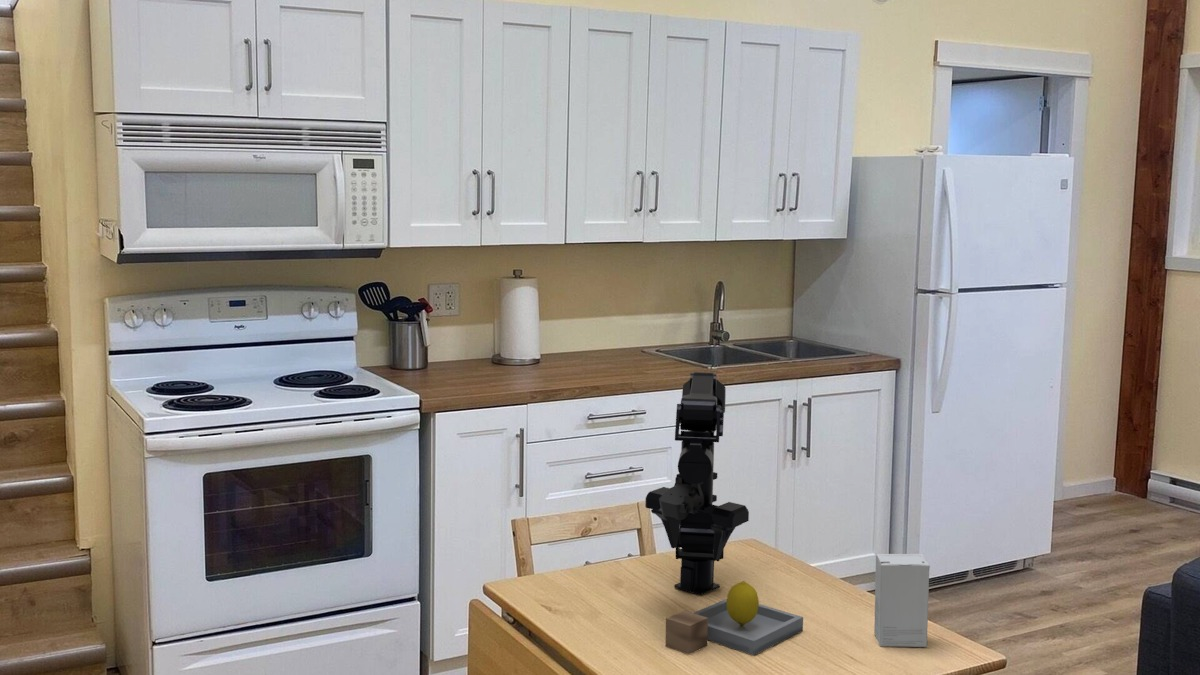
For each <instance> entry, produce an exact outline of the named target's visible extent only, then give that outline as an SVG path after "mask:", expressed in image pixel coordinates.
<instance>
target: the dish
mask: <svg viewBox="0 0 1200 675" xmlns="http://www.w3.org/2000/svg"><path fill="white" fill-rule="evenodd" d="M693 613H694V614H697V615H700V616H704V617H707V618H708V634H707V641H709V642H712V643H715V644H718V645H721V646H724V647H727V648H730V649H733V650H736V651H739V652H740V653H741V652H742V653H744V654H747V655H751V656H755V654H756V655H758V654H760V653H761V652H763V651H765V650H768V649H769V648H772V647H774V646H776V645H777V644H779V643H781V642H783V641H785V640H788V639H789V638H791V637H793V636H795V635H797V634H799V633H801V632H803V631H804V630H803V629H804V617H803V616H800V615H798V614H796V613H795V614H794V613H791V612H788V611H784V610H781V609H778V608H774V607H772V606H768V605H764V604H762V603H759V607H758V612H757V614H756V616H755V618H754V619H753V620H752V621H750V622H748V623H746V624H745V625H744V626H741V625H739V623H738V622H736V621H734V620H733V619H732V618H731V617H730V616H729V614H728V611H727V598H725V599H722V600H720V601H718V602H715V603H714V604H711V605H708V606H706V607H703V608H702V609H699V610H696V611H694V612H693Z"/></svg>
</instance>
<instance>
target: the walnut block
mask: <svg viewBox="0 0 1200 675" xmlns="http://www.w3.org/2000/svg"><path fill="white" fill-rule="evenodd" d="M707 634H708V618H707V617H704V616H700V615H697V614H694V612H692V611H691V612H690V611H689V610H688V611H687V610H682V611H679V612H677V613H675V614H673V615H669V616H667V617H666V618H665V647H666V648H670V649H672V650H675V651H678V652H682V653H684V654H687V655H691V654H693V653H695V652H697V651H700V650H702V649H704V648H706V647H707V646H708V640H707ZM699 649H700V650H699Z"/></svg>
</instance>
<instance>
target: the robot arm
mask: <svg viewBox="0 0 1200 675" xmlns="http://www.w3.org/2000/svg"><path fill="white" fill-rule="evenodd" d="M726 395H727V394H726V385H724V384H723V383H721V382H720V381H719V380H718V378H717V373H714V372H706V371H705V372H704V371H701V372H700V371H699V372H698V371H694V372H693V373H692V372H691V373H690V375H689V380H687V381H686V382H684V383H683V384H682V392H681V399H680V403H677V404H676V412H675V414H676V416H675V431H674V441H677V442H678V441H681V445H680V446H681V449H680V450H681V451H680V454H679V458H678V462H677V472H678V473H677V474H676V475H675V476H676V477H675V483H674V485H673V486H672V487H665V486H662V487H659V488H657V489H654V490H651V491H648V492H647V494H646V496H645V500H644V501H645V503H644V504H645V505H644V506H645V508H646V509H650V512H651V513H652V514H654V515H656V516H657V517H658V518H659V519H660V520H661V523H662V525H663V527H664V530H665V533H666V536H667V539H668V542H669V544H670V547H671V548H672V549H675V560H679V559H680V561H681V563H680V564H681V565H680V577H679V581H680V582H678V583H676V584H674V588H675V589H678V590H682V591H683V592H684V591H685V592H688V593H692V594H694V595H697V596H703V595H705V594H707V593H710V592H712V591H715V590H717V589H719V588H720V587H721V584H719V583H716V582H714V580H715V579H714V578H715V576H714V575H715V574H714V572H715V561H716V562H720V560H723V559H724V554H725V553H724V551H725V547H726V545H727V543H728V540H729V539H730V537H731V535H732V534H733V532H734V530H735V529H736V527H739V526H741V525H743V524H745V523H747V522H749V521H750V520H749V519H750V518H749V517H750V511H749V509H748V508H747V505H744V504H740V503H736V502H731V501H728V502H725V503H723V504H721V505H716V504H713V503H716V502H717V500H718V497H717V496H718V495H716V494H713V493H714V492H713V491H714V480H717V479H718V472H714V462H715V457H714V455H715V443H719V442H720V437H723V435H724V419H725V416H724V415H725V414H724V413H725V412H726ZM680 430H681V431H680ZM715 432H716V433H715ZM715 434H716V435H715Z"/></svg>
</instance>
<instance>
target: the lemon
mask: <svg viewBox="0 0 1200 675" xmlns="http://www.w3.org/2000/svg"><path fill="white" fill-rule="evenodd" d="M726 599H727V611H728V614H729V616H730V617H731V618H732V619H733V620H734V621H736V622H738V623H739V625H741V626H744V625H745V624H746V623H748V622H750V621H752V620H753V619H754V618H755V616H756V614H757V612H758V607H759V604H760V601H759V596H758V592H757V590H756V589H755V588H754V586H752V585H751V584H749V583H747V582H746V581H745V580H741V581H740V582H737V583H735V584H734V585H733V586H731V587H730V589H729V591H728V593H727V597H726Z"/></svg>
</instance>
